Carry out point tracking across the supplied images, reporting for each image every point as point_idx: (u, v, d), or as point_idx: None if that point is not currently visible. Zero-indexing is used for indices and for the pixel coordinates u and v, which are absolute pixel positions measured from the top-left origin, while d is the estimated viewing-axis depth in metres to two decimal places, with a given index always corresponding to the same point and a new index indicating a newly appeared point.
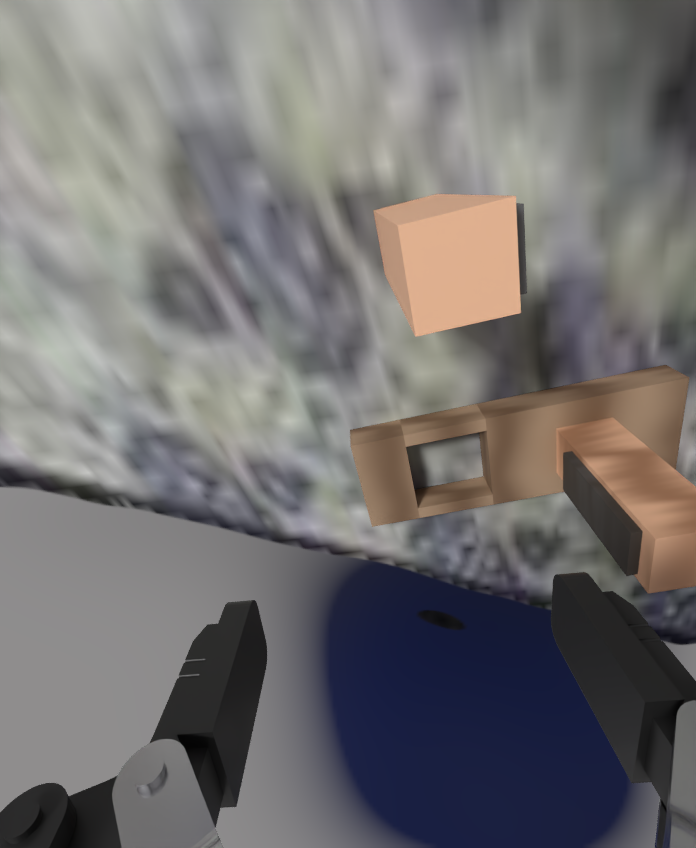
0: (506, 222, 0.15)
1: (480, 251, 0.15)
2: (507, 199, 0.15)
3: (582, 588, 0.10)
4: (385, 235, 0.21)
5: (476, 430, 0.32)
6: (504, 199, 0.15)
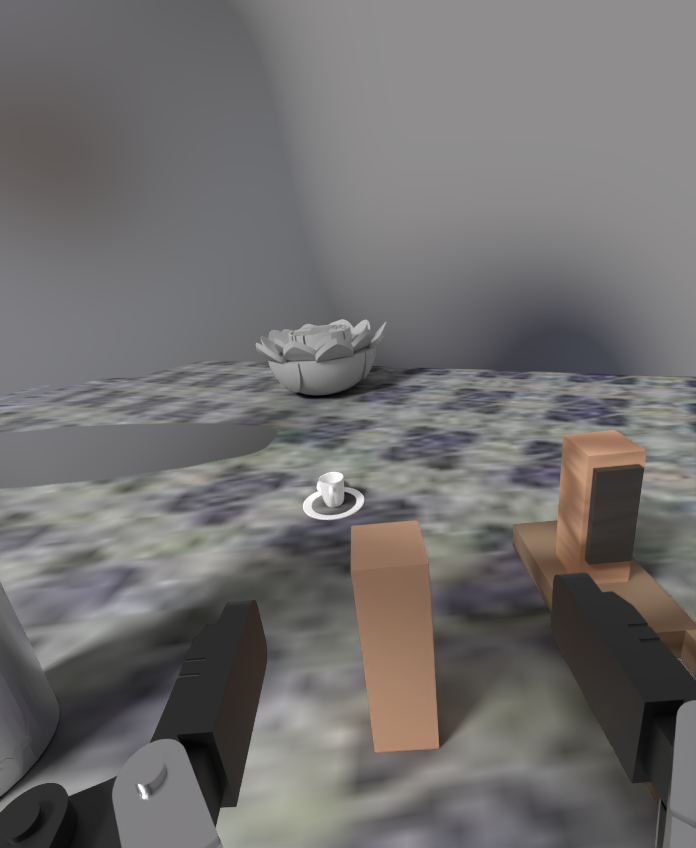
0: (363, 528, 0.26)
1: (376, 536, 0.25)
2: (351, 528, 0.26)
3: (582, 588, 0.10)
4: (379, 668, 0.25)
5: None
6: (351, 529, 0.26)
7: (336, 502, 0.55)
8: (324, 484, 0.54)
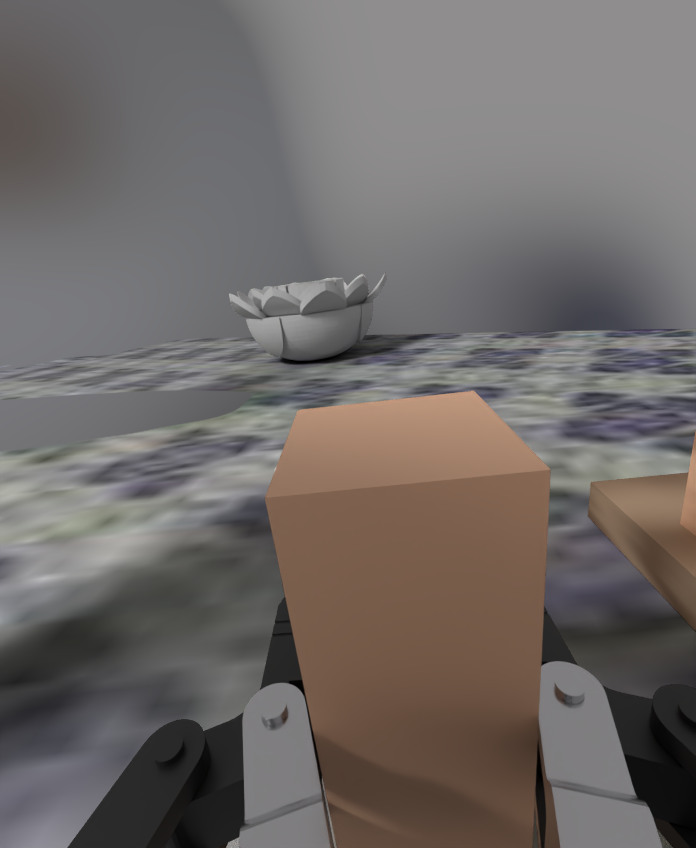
0: (329, 411, 0.10)
1: (363, 422, 0.09)
2: (298, 413, 0.10)
3: None
4: (373, 803, 0.08)
5: None
6: (296, 415, 0.10)
7: None
8: None
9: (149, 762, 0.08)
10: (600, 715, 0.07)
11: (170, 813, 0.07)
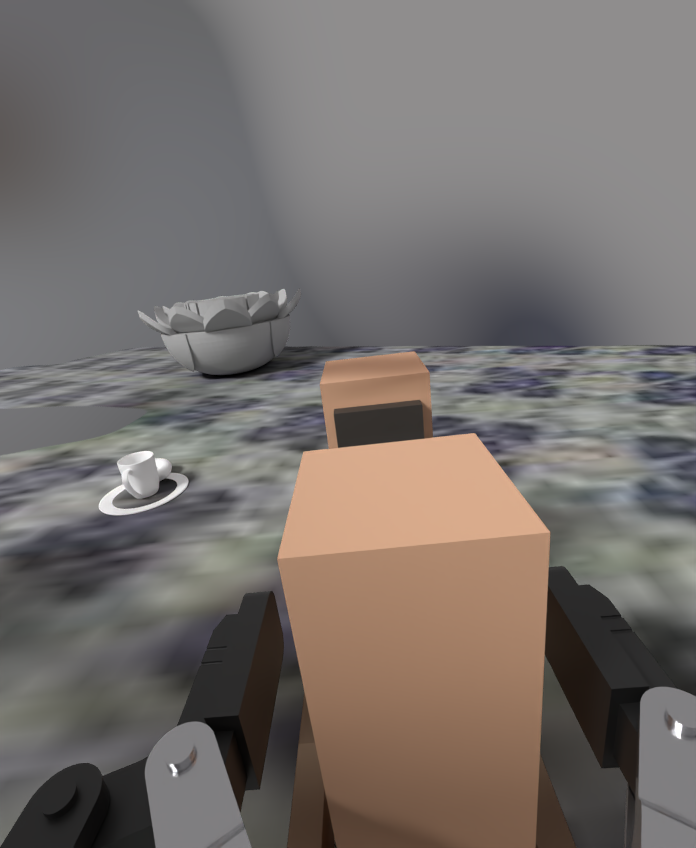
0: (334, 454, 0.10)
1: (368, 469, 0.09)
2: (304, 456, 0.10)
3: (559, 581, 0.11)
4: (379, 840, 0.09)
5: None
6: (302, 458, 0.10)
7: (141, 491, 0.40)
8: (120, 467, 0.39)
9: (37, 819, 0.07)
10: None
11: None
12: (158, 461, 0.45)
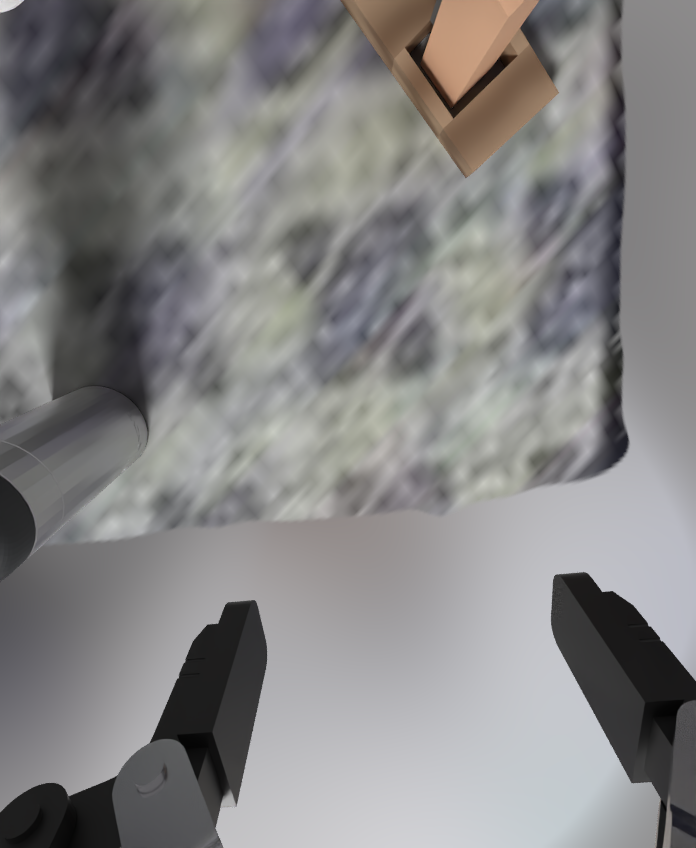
0: None
1: None
2: None
3: (582, 588, 0.10)
4: (484, 61, 0.29)
5: (409, 58, 0.32)
6: None
7: None
8: None
9: None
10: None
11: None
12: None
